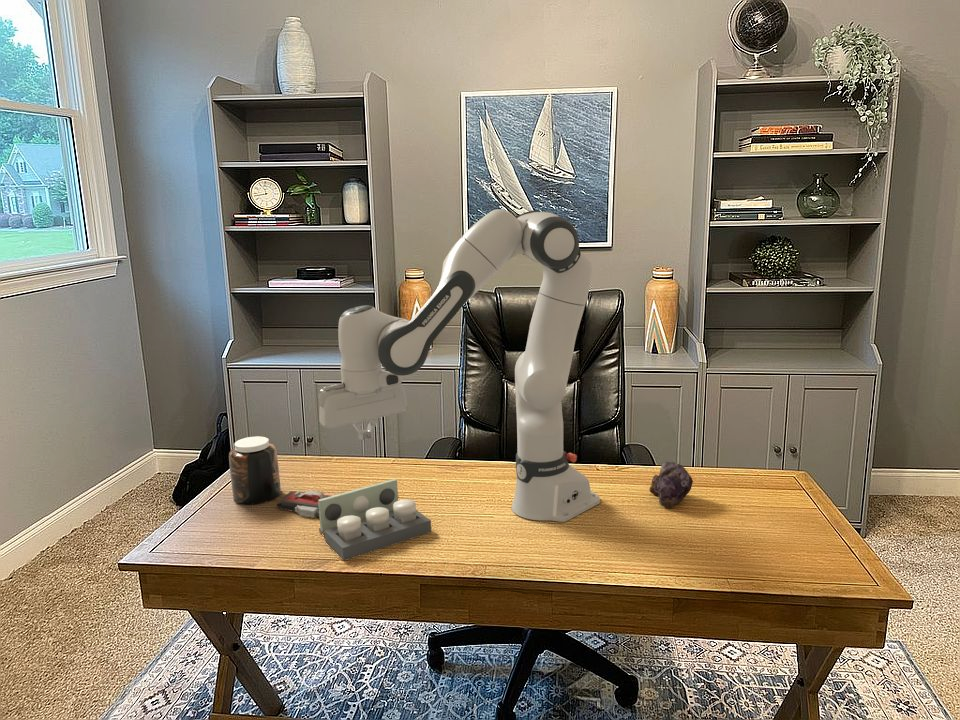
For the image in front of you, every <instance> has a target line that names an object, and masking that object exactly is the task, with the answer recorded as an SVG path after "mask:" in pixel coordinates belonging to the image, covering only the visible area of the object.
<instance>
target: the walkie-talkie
mask: <svg viewBox="0 0 960 720" xmlns="http://www.w3.org/2000/svg"><path fill="white" fill-rule="evenodd" d="M330 496H331V495H329V494H324V492H322V491H315V490H307V491H305V492H302V491H301V490H297V491H296V490H295V491H292V490H291V491H289V492H288V493H287V494H285V495H284V496H282V497H281V498H280V502H278V503H276V508H279V509H283V511H288V510H292V511H291V512H294V513H297V515H299V516H300V517H303V516H305V517H304V518H310V517H311V519H315V518H317V517H319V506H318V500H319V499H323V498H327V497H330ZM314 517H315V518H314Z"/></svg>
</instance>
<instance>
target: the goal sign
mask: <svg viewBox="0 0 960 720" xmlns="http://www.w3.org/2000/svg"><path fill="white" fill-rule="evenodd" d="M398 491H399V490H398V479H396V478H393V479H388V480H386V481H382V482H378V483H374V484H370V485H367V486H364V487H363V486H362V487H359V488H355V489H352V490H348V491H345V492H342V493H338V494H335V495H330V497H327V498H323V499H319V500H318V506H319V516H318V517H319V527H318V532H319V534H321V535H322V534H323V535H324V536H325V533H324V531H326V530H329V529H332V528H336V527H337V520H338V519H340V518H341V517H344V516H350V515H353V516H358V517H360V519H361V520H362V519H366V511H367V510H369V509H371V508H376V507H383V508H386V509H388V510H389V511H392V510H393V504H394V503H395V502H396V501H399V492H398ZM323 535H322V536H323ZM324 536H323V537H324Z"/></svg>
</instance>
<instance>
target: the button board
mask: <svg viewBox="0 0 960 720" xmlns="http://www.w3.org/2000/svg"><path fill="white" fill-rule="evenodd" d="M431 521H432V520H431V519H430V518H428V517H427V516H425V515H424V514H423V513H421V512H420V511H418V510H417V509H416V519H415V520H412V521H409V522H406V523H402V524H400V523H399V522H397V521H396V520H395V519H394V511H393V510H392V511H389V528H386V529H383V530H380V531H377V532H374V533H373V532H372V531H371V530H369V529H368V528H367V522H366V519H362V520H361V537H358V538H354V539H351V540H348V541H345V542H344V541H343V540H342V539H341V538H340V537H339V532H338V527H336V528H332V529H329V530H326V531H324V533H325V537H324V539H325V540H324V542H326V543H327V544H328V545H329V546H330V547H331V548H332V549H333V550H334V551H335V552H336V553H337V554H338V555H339V556H340V557H341V558H342V559H343V560H344V561H346V560H347V561H348V560H350V559H352V558H353V557H354V558H356V556H357V557H359V555H360V556H362V555H365V553H366V554H368V552H369V553H372V552H374V550H375V551H377V549H378V550H381V549H384V548H387V547H389V546H393V545H396V544H399V543H403V542H406V541H408V540H411V538H412V539H414V538H417V537H419V536H420V537H421V536H424V535H426V534H430V533H432V522H431ZM326 543H325V544H326ZM327 544H326V545H327ZM328 545H327V546H328ZM329 546H328V547H329ZM330 547H329V548H330ZM331 548H330V549H331ZM380 548H381V549H380ZM332 549H331V550H332ZM333 550H332V551H333ZM334 551H333V552H334ZM371 551H372V552H371ZM335 552H334V553H335ZM336 553H335V554H336ZM337 554H336V555H337ZM338 555H337V556H338ZM339 556H338V557H339ZM340 557H339V558H340ZM341 558H340V559H341ZM354 558H353V559H354ZM342 559H341V560H342ZM343 560H342V561H343Z"/></svg>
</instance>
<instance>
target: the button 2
mask: <svg viewBox="0 0 960 720" xmlns="http://www.w3.org/2000/svg"><path fill="white" fill-rule="evenodd" d="M416 505H417V504H416V501H415V500H412V499H398V501H396V502H395V503H394V504H393V511H394V519H395V520H396V521H397V522H399V523H400V524H402V523H406V522H409V521H412V520H415V519H416V510H417V507H416Z"/></svg>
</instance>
